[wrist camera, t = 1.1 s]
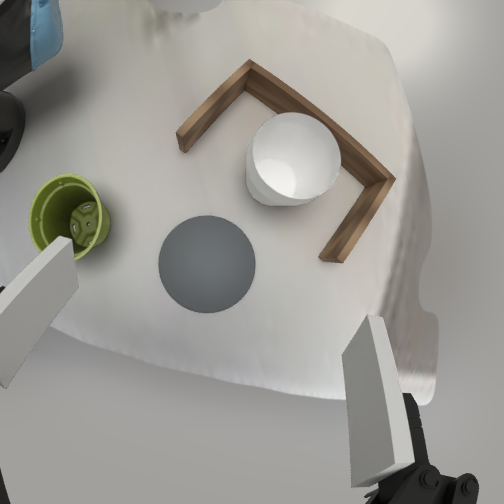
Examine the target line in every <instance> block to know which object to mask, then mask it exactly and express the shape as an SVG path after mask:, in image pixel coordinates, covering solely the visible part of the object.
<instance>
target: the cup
mask: <svg viewBox="0 0 504 504" xmlns="http://www.w3.org/2000/svg"><path fill="white" fill-rule="evenodd" d="M340 166H341V155H340V150H339V147H338V144H337V142H336V140H335V138H334V136H333V135H332V133H331V132H330V131H329V129H328V128H327V127H326V126H325V125H323V124H322V123H321V122H320V121H318V120H317V119H315V118H313V117H311V116H308V115H305V114H301V113H294V112H289V113H282V114H278V115H276V116H274V117H271V118H270V119H268V120H267V121H266V122H265V123H264V124H263V125H262V126H261V127H260V128H259V130H258V131H257V133H256V134H255V136H254V137H253V138H252V140H251V142H250V144H249V146H248V149H247V154H246V184H247V188H248V190H249V192H250V194H251V195H252V197H253V198H254V199H256V200H257V201H258V202H260V203H262V204H264V205H268V206H296V205H301V204H305V203H308V202H310V201H312V200H314V199H316V198H317V197H318V196H319V195H321V194H323V193H324V192H326V191H327V190H328V189H329V188H330V187H331V186H332V185H333V184H334V182H335V181H336V179H337V177H338V174H339V171H340Z"/></svg>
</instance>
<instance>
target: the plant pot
mask: <svg viewBox="0 0 504 504" xmlns="http://www.w3.org/2000/svg"><path fill="white" fill-rule="evenodd" d="M86 205H90V206H91V207H88V208H84V209H82V207H84V206H86ZM88 222H90V226H87V223H88ZM73 224H75V230H76V234H75V233H74V231H73ZM109 230H110V216H109V213H108V211H107V209H106V208H105V207H104V206H103V205H102V204H101V202H100V199H99V196H98V194H97V192H96V190H95V189H94V187H93V186H92V185H91V183H89V182H88V181H87V180H86V179H84V178H83V177H81V176H78V175H75V174H61V175H58V176H56V177H53V178H52V179H50V180H49V181H47V182H46V183H45V184H44V185H43V186H42V187H41V188H40V189H39V191H38V192H37V194H36V195H35V197H34V199H33V202H32V204H31V208H30V212H29V231H30V236H31V239H32V241H33V243H34V245H35V247H36V249H37V250H38V251H39V252H40V253H41V252H42V251H43V250H44V249H45V248H46V247H48V246H49V245H50V244H51V243H52V242H53V241H54V240H55V239H56V238H58V237H59V236H62V237H65V238H69V239H72V244H73V252H74V259H75V261H76V260H78V259H80V258H81V257H83V256H84V255H85V254H87V253H88V252H89V251H90V249H91V248H93V247H96V246H98V245H99V244H101V243H102V242H103V241H104V240H105V238H106V237H107V235H108V233H109ZM89 241H92V242H91V244H89V243H88V242H89Z"/></svg>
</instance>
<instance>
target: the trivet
mask: <svg viewBox="0 0 504 504" xmlns="http://www.w3.org/2000/svg"><path fill="white" fill-rule="evenodd" d="M159 273H160V278H161V281H162V283H163V285H164V287H165V289H166V291H167V292H168V294H169V295H170V296H171V297H172V298H173V299H174V300H175V301H176V302H177V303H178V304H180V305H182V306H183V307H185V308H187V309H189V310H192V311H195V312H201V313H214V312H219V311H222V310H225V309H227V308H229V307H231V306H233V305H234V304H236V303H237V302H238V301H239V300H240V299H242V297H243V296H244V295H245V294H246V292H247V291H248V289H249V288H250V286H251V284H252V281H253V278H254V274H255V255H254V251H253V248H252V245H251V243H250V241H249V239H248V238H247V236H246V235H245V234H244V233H243V231H242V230H241V229H240V228H238V227H237V226H236V225H235V224H233V223H232V222H230V221H228V220H226V219H223V218H220V217H215V216H199V217H194V218H191V219H188V220H186V221H184V222H182V223H181V224H179V225H178V226H177V227H175V228H174V229H173V230H172V231H171V232H170V234H169V235H168V236H167V238H166V239H165V241H164V243H163V245H162V248H161V251H160V255H159Z"/></svg>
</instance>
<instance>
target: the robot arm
mask: <svg viewBox="0 0 504 504" xmlns="http://www.w3.org/2000/svg"><path fill="white" fill-rule="evenodd" d="M62 44H63V26H62V19H61V13H60V7H59V2H58V0H0V172H1V171H2V170H3V169H4V168H5V167H6V166H7V164H8V163H9V162H10V160H11V159H12V157H13V155H14V153H15V151H16V150H17V147H18V145H19V143H20V140H21V137H22V134H23V129H24V123H25V113H24V108H23V105H22V103H21V102H20V101H19V100H18V99H17V98H16V97H15V96H14V95H13V94H11V93H9V92H6V91H3V90H4V89H5V88H7V87H8V86H10V85H11V84H12V83H14V82H15V81H17V80H18V79H20V78H21V77H23V76H24V75H26V74H28V73H29V72H31V71H32V70H33V71H35V70H36V69H37V67H38V66H40V65H41V64H43V63H44V62H46V61H47V60H49V59H50V58H52V57H54V56H55V55H56V54H57V53H58V52H59V51H60V49H61V47H62ZM78 287H79V284H78V279H77V272H76V266H75V259H74V252H73V244H72V239H69V238H65V237H62V236H59V237H58V238H56V239H55V240H54V241H53V242H52V243H51V244H50V245H49V246H48V247H46V248H45V249H44V250H43V251H42V252H41V253H40V254H39V255H38V256H37V257H36V258H35V259H34V260H33V261H32V262H31V263H30V264H28V265H27V266H26V267H25V268H24V269H23V270H22V271H21V272H20V273H19V274H18V275H17V276H16V277H15V278H14V280H13V281H12V282H11V283H10V284H9V285H8V286H7V287H4V286H2V287H0V386H2V387H3V388H5V389H7V387H8V386H9V384H10V382H11V381H12V379H13V378H14V376H15V374H16V373H17V371H18V370H19V368H20V367H21V365H22V364H23V362H24V361H25V359H26V357H27V356H28V354H29V353H30V352H31V350H32V349H33V347H34V346H35V344H36V343H37V341H38V340H39V339H40V337H41V336H42V335H43V333H44V332H45V330H46V329H47V327H48V326H49V325H50V324H51V322H52V321H53V320H54V318H55V317H56V316H57V314H58V313H59V312H60V310H61V309H62V308H63V306H64V305H65V304H66V303H67V301H68V300H69V299H70V297H71V296H72V295H73V294H74V292H75V291H76V290H77V289H78ZM342 362H343V371H344V381H345V391H346V402H347V414H348V427H349V442H350V463H351V487H370V486H371V485H374V484H376V483H378V487H379V488H378V489H376V490H374V491H372V492H370V493H367V494H366V495H365V496H364V497H365V498H367V497H369V496H371V497H370V498H369V500H368V501H367V502H366V503H365V504H476V502H477V497H478V492H479V484H478V481H477V479H476V477H475V476H474V475H472V474H469V473H466V474H463V475H461V476H459V477H458V478H453V477H449V476H444V475H441V474H440V472H439V470H438V469H437V468H436V467H435V466H433V465H430V463H429V460H428V455H427V449H426V444H425V438H424V433H423V428H422V427H421V426H422V423H421V419H420V418H419V417H420V414H419V410H418V405H417V403H416V401H415V400H414V398H413V396H412V395H411V393H402V390H401V386H400V381H399V377H398V373H397V369H396V365H395V361H394V357H393V353H392V349H391V346H390V342H389V338H388V335H387V331H386V328H385V324H384V321H383V317H378V316H373V315H368V314H367V316H366V317H365V319H364V321H363V322H362V324H361V326H360V327H359V329H358V330H357V332H356V334H355V335H354V337H353V338H352V340H351V341H350V343H349V345H348V346H347V348H346V349H345V351H344V352H343V354H342ZM0 504H10V501H9V498H8V495H7V491H6V488H5V484H4V481H3V477H2V473H1V469H0Z"/></svg>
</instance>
